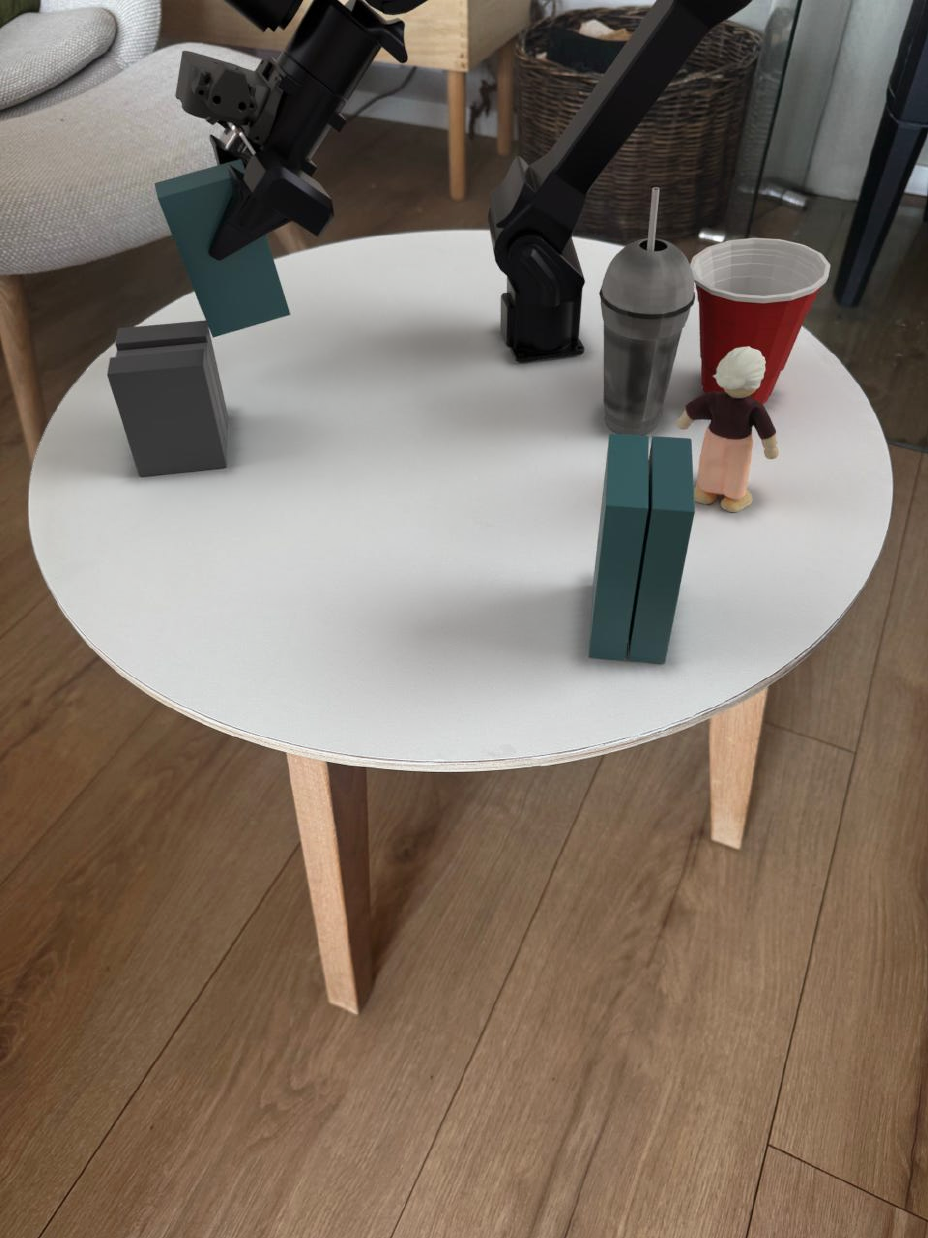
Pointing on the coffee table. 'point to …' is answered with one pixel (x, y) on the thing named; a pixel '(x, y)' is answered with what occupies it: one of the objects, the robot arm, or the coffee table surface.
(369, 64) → the robot arm
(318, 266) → the coffee table surface
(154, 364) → the grey books
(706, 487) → the grandmother figurine
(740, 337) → the plastic cup
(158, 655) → the coffee table surface
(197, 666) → the coffee table surface
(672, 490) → the teal books
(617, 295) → the beverage cup
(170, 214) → the teal book
